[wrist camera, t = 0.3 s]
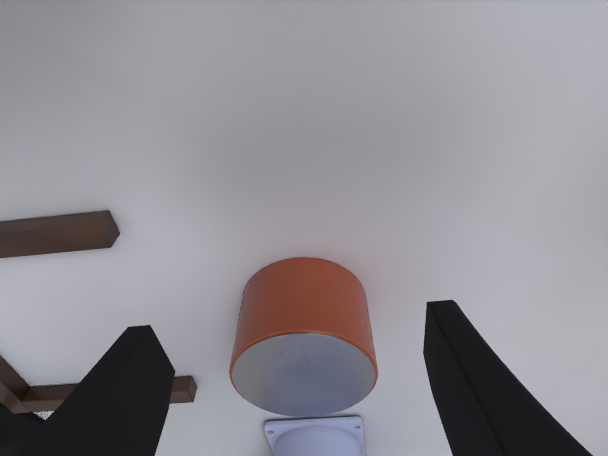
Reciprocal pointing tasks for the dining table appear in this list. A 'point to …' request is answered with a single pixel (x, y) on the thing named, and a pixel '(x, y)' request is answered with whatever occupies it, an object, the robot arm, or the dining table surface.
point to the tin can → (303, 340)
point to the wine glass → (16, 429)
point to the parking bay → (54, 239)
